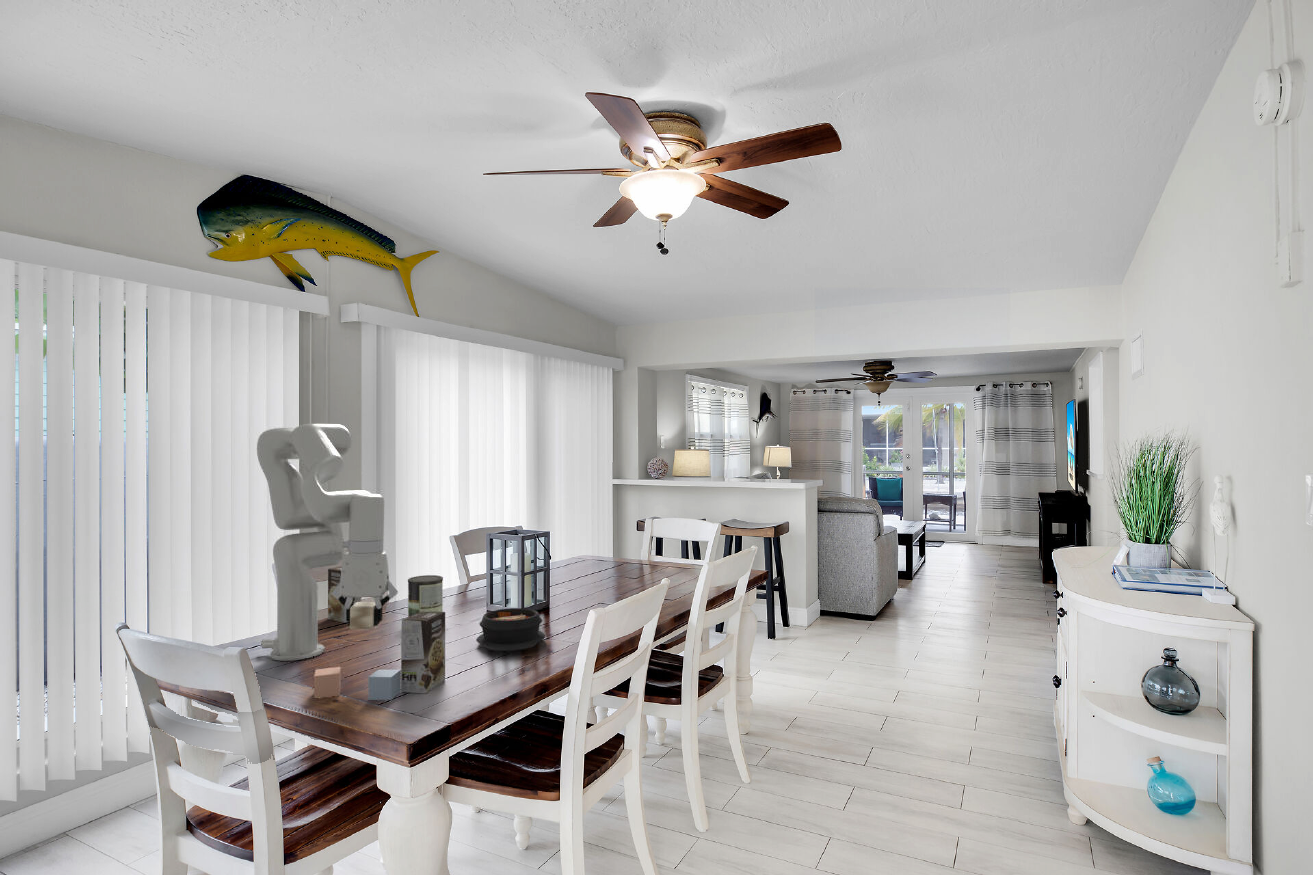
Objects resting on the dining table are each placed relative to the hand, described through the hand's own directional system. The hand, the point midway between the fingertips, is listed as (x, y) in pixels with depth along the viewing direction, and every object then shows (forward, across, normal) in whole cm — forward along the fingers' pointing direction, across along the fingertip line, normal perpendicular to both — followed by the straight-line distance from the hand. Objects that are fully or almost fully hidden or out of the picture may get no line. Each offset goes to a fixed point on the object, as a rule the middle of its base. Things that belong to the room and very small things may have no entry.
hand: (364, 623), depth 165 cm
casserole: (+13, +32, +25) cm, 43 cm away
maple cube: (+1, 0, 0) cm, 1 cm away
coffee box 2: (+13, +15, -7) cm, 21 cm away
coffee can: (+15, +4, +51) cm, 53 cm away
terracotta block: (+13, -5, -9) cm, 17 cm away
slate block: (+13, +8, -12) cm, 19 cm away
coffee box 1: (+16, -23, +61) cm, 67 cm away
